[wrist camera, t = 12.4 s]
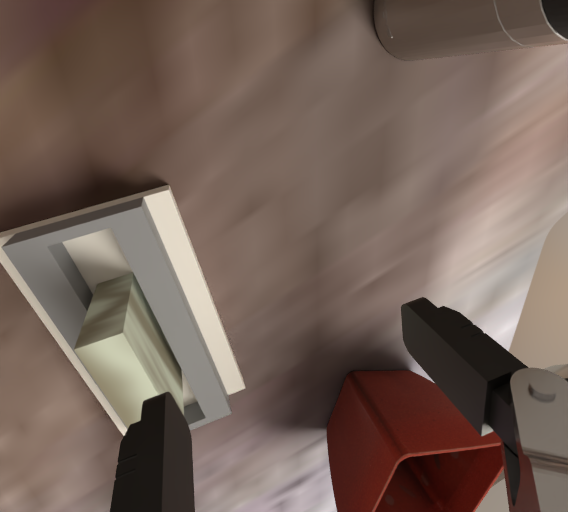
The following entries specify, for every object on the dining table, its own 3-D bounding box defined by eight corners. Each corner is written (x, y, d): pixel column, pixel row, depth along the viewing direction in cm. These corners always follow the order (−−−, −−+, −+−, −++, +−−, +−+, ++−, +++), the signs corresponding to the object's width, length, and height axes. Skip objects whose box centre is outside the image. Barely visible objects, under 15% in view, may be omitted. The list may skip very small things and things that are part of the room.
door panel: (133, 272, 35) (122, 332, 26) (181, 368, 42) (185, 442, 33) (97, 283, 34) (73, 349, 26) (151, 379, 41) (147, 457, 32)
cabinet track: (169, 184, 34) (169, 198, 30) (242, 377, 48) (250, 406, 43) (-5, 233, 32) (-32, 256, 27) (125, 423, 45) (121, 458, 41)
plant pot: (335, 352, 51) (402, 457, 37) (435, 352, 58) (524, 441, 44) (301, 444, 58) (346, 563, 43) (394, 434, 65) (459, 534, 50)
